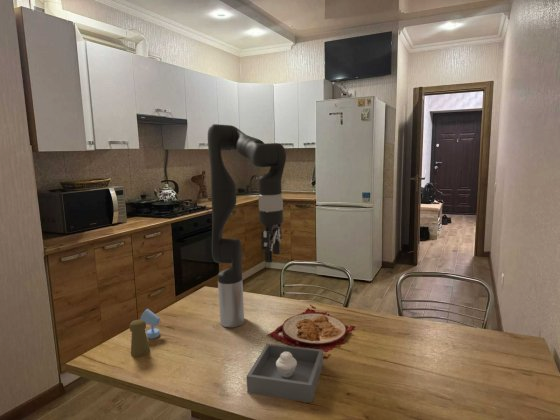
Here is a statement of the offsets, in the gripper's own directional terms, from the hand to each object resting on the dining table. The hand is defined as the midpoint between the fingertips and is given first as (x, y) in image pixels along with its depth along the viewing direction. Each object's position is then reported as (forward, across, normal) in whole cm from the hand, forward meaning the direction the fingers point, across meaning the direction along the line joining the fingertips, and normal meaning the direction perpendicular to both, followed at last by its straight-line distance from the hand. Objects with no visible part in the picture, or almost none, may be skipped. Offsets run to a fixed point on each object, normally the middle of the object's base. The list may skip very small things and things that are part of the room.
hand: (272, 257), depth 122 cm
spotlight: (+32, +1, -47) cm, 57 cm away
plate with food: (+33, -14, +11) cm, 37 cm away
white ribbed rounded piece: (+30, +15, +8) cm, 35 cm away
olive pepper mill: (+32, +12, -44) cm, 56 cm away
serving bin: (+31, +16, +8) cm, 36 cm away
